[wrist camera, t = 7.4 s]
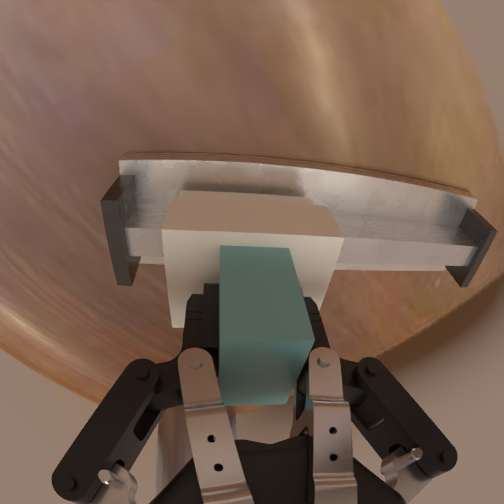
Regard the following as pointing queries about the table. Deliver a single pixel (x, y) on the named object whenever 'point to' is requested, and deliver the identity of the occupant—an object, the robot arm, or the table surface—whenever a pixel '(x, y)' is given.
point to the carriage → (252, 282)
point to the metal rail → (322, 194)
